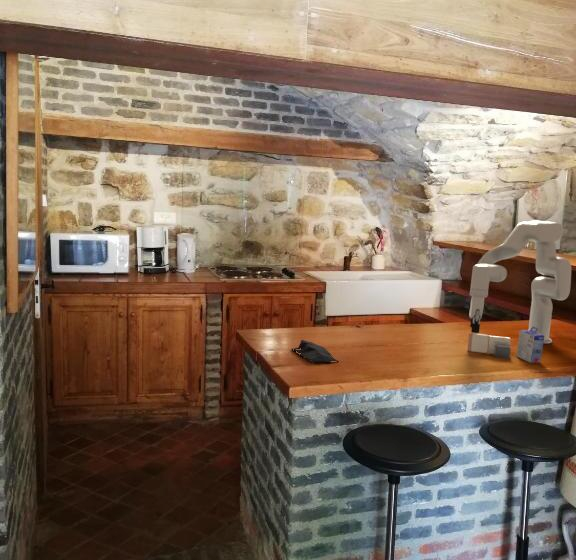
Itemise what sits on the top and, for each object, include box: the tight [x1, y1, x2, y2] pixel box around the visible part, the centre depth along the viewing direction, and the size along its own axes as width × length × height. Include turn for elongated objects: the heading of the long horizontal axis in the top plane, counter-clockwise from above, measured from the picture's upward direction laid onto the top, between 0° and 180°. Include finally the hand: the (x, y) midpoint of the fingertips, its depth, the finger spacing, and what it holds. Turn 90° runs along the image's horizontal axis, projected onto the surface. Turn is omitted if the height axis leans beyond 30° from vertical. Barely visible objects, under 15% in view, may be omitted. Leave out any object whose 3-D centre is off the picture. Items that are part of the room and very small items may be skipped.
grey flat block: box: [467, 332, 489, 354], centre depth 254 cm, size 2×8×8 cm, turn 75°
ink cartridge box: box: [515, 327, 544, 364], centre depth 245 cm, size 10×6×14 cm, turn 15°
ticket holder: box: [486, 335, 512, 360], centre depth 252 cm, size 10×9×8 cm
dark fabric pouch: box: [293, 339, 339, 363], centre depth 239 cm, size 15×22×5 cm
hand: (474, 330), depth 253 cm, fingers open, 9 cm apart
